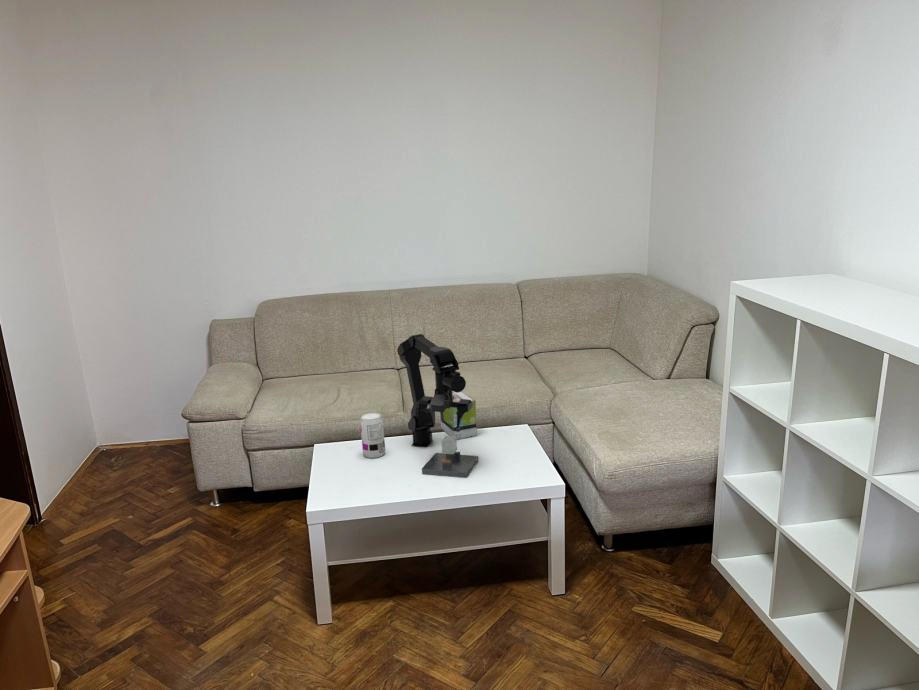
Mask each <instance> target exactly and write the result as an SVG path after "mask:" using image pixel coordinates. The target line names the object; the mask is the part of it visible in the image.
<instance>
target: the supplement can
mask: <svg viewBox="0 0 919 690" xmlns="http://www.w3.org/2000/svg"><path fill="white" fill-rule="evenodd" d="M359 425H360V436H361V437H360V438H361V444H362V445H361V446H362V454H363V456H364V457H366V458H367V459H376V458H380V457H383V456H384V455H385V453H386V443H385V442H386V441H385V431H384V419H383V417H382V416H381V413H378V412H370V413H365V414H362V415H361V417H360V419H359Z"/></svg>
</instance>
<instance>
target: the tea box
mask: <svg viewBox="0 0 919 690" xmlns="http://www.w3.org/2000/svg"><path fill="white" fill-rule="evenodd" d="M452 393H453V397H454V400H453V402H459V401H460V400H461V399H469V400H471V401H472V404H473V407H472V408H471V409H470V410H469V411H468V412H466V413H465V414H464V415H463V418H462V421H461V424H460V427H459V428H457V414H456V412H457V411H458V410H457V407H450V408H447V409H445V411H444V412H442V413H441V412H439V413H440V428H441V430H443V431H444V432H445V433H446V434H447V435H448V436H456V440H461V439H466V437H467V438H471V436H472V437H477V435H478V428H477V427H478V426H477V424H478V423H477V408H476V407H477V404H476V399H475V398H473V397H471V396H470V395H469V394H467V393H466V392H464V390H462V391H461V392H458V393H456V392H454V391H452Z"/></svg>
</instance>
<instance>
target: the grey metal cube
mask: <svg viewBox="0 0 919 690" xmlns="http://www.w3.org/2000/svg"><path fill="white" fill-rule="evenodd" d="M457 442H458V441H457V439H456V436H450V435H444V436H443V437H442V439H441V452H442V453H443V454H454V453H455V452H458V451H457V450H458V445H457V444H458V443H457Z"/></svg>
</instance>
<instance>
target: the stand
mask: <svg viewBox="0 0 919 690" xmlns="http://www.w3.org/2000/svg"><path fill="white" fill-rule="evenodd" d="M479 461H480V460H479V455H470V454H468V455H467V454H461V451H456V452H455V453H454V454H443V453H441V452H435V453H434V454H433V455H432V456H431V457H430V458H429V460H428V461H427V462H426V463H425V464H424V466H423V467H422V468H421V473H422V475H429V476H438V477H439V476H441V477H442V476H443V477H453V478H465V479H466V478H468V476H469V475H470V473H472V471H473V470H474V468H476V465H477V464H478V463H479Z"/></svg>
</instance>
